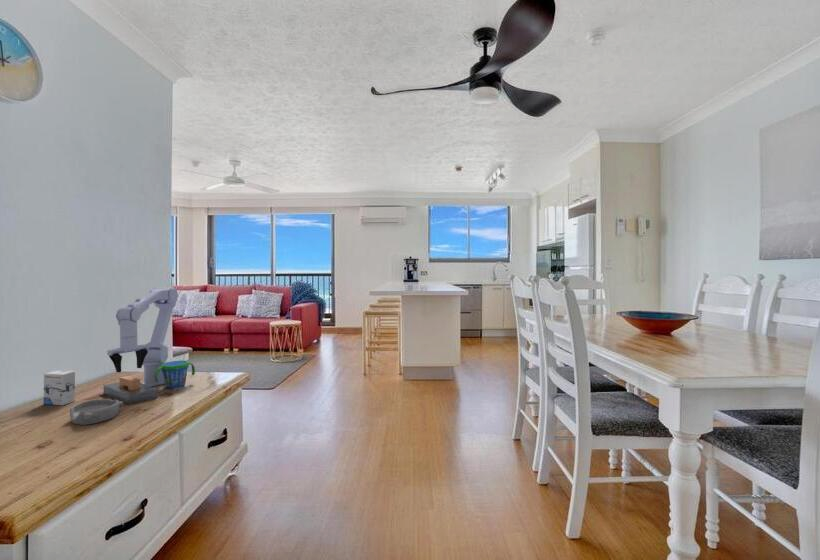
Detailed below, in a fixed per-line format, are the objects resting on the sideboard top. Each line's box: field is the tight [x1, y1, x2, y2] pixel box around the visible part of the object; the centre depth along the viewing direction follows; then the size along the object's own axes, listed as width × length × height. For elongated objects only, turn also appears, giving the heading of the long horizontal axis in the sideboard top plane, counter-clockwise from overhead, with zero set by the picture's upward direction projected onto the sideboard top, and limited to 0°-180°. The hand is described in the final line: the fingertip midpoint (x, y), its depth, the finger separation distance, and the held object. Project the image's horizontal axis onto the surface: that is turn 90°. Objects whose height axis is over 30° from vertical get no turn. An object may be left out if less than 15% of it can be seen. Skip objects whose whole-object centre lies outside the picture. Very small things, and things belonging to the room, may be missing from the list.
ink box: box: [43, 370, 76, 406], centre depth 151 cm, size 9×5×12 cm, turn 84°
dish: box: [69, 398, 124, 426], centre depth 136 cm, size 14×14×5 cm
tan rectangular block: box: [118, 375, 141, 391], centre depth 160 cm, size 3×10×7 cm, turn 59°
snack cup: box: [154, 360, 196, 389], centre depth 173 cm, size 16×10×10 cm
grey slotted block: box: [103, 381, 158, 405], centre depth 160 cm, size 10×24×4 cm, turn 56°
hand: (129, 369), depth 160 cm, fingers open, 7 cm apart
